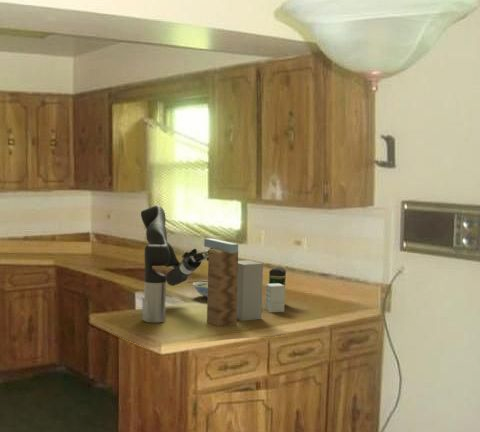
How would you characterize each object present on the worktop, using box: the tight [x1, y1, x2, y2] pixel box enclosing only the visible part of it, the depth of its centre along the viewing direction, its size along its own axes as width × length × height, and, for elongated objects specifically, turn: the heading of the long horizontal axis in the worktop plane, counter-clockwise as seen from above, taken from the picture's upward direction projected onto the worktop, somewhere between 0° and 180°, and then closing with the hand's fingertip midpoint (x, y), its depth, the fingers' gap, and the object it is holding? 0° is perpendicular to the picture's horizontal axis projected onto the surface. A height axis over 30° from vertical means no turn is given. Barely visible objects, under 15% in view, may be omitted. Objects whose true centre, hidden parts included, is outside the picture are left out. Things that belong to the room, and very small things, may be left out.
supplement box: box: [264, 283, 286, 313], centre depth 348 cm, size 7×7×13 cm
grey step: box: [236, 259, 264, 322], centre depth 331 cm, size 10×12×25 cm
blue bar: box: [203, 238, 239, 254], centre depth 317 cm, size 4×24×4 cm, turn 30°
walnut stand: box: [206, 248, 239, 327], centre depth 316 cm, size 9×10×32 cm
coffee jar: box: [268, 266, 287, 287], centre depth 362 cm, size 10×8×19 cm
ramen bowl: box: [187, 279, 208, 299], centre depth 376 cm, size 25×23×8 cm
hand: (204, 249), depth 331 cm, fingers open, 8 cm apart
